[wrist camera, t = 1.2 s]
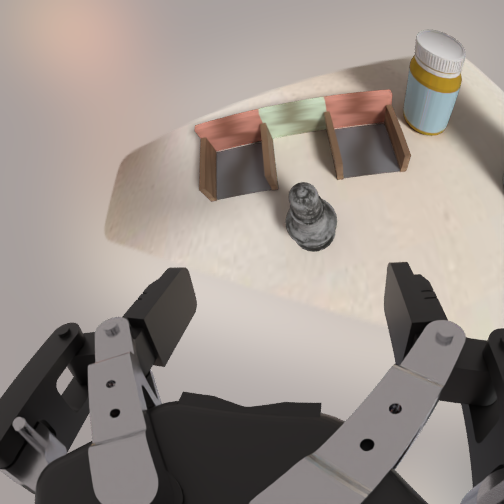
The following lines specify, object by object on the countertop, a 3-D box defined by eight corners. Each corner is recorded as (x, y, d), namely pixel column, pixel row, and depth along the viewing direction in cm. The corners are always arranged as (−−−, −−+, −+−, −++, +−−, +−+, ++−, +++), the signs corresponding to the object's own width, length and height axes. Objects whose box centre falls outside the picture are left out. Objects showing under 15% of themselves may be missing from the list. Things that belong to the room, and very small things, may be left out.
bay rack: (387, 116, 38) (390, 89, 32) (405, 171, 35) (413, 146, 30) (211, 147, 45) (195, 125, 39) (211, 201, 42) (192, 183, 37)
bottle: (441, 145, 34) (467, 71, 20) (397, 126, 37) (408, 47, 23) (448, 113, 35) (470, 41, 21) (408, 96, 37) (417, 21, 24)
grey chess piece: (296, 258, 37) (274, 226, 26) (286, 214, 38) (262, 169, 27) (342, 247, 35) (341, 210, 24) (331, 203, 37) (324, 152, 26)
